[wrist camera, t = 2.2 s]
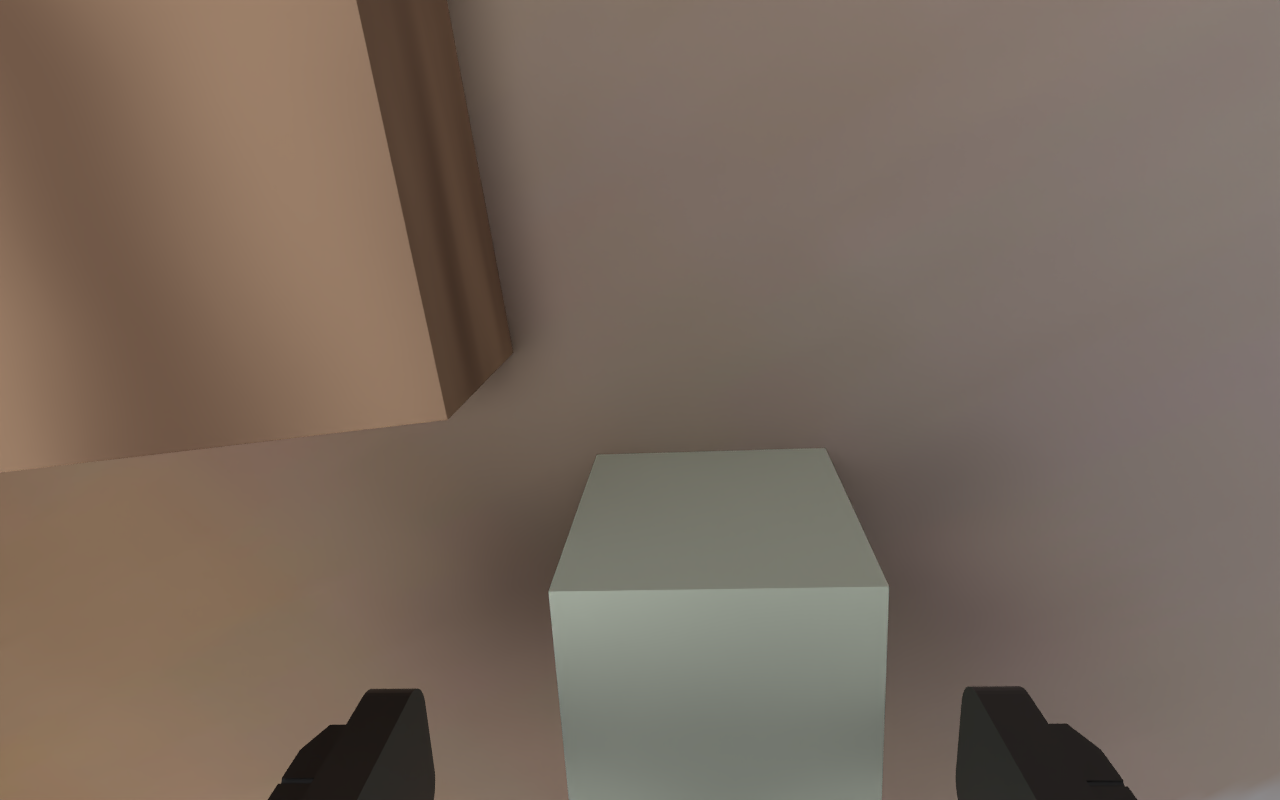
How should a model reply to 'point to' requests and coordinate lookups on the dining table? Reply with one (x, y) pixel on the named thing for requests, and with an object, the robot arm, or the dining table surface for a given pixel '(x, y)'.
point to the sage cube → (720, 631)
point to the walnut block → (235, 225)
